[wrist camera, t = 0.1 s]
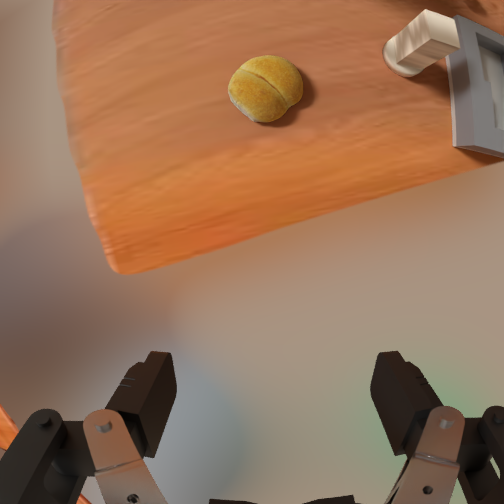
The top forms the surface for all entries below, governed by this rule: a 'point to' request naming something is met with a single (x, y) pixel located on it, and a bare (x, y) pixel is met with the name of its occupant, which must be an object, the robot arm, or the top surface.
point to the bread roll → (265, 88)
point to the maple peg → (421, 44)
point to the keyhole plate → (477, 88)
